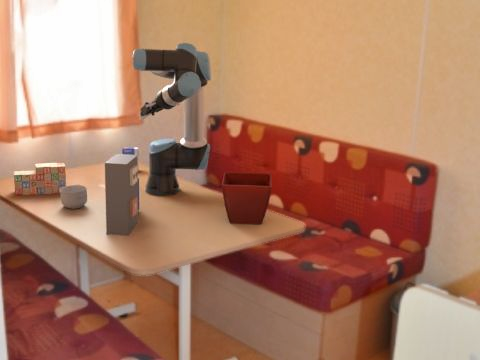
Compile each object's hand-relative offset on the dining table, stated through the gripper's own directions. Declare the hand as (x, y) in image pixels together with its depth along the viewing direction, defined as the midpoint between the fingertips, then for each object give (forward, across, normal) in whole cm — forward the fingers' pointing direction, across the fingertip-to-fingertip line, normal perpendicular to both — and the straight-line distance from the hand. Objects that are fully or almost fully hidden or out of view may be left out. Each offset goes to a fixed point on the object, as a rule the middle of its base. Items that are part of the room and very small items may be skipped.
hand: (140, 116), depth 248 cm
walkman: (+70, +28, -12) cm, 76 cm away
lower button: (+5, -17, -34) cm, 38 cm away
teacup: (+39, -19, -23) cm, 49 cm away
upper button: (0, -16, -23) cm, 28 cm away
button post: (+9, -18, -38) cm, 43 cm away
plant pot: (-7, +26, -51) cm, 58 cm away
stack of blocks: (+62, -22, -11) cm, 67 cm away
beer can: (+22, -6, -33) cm, 40 cm away
